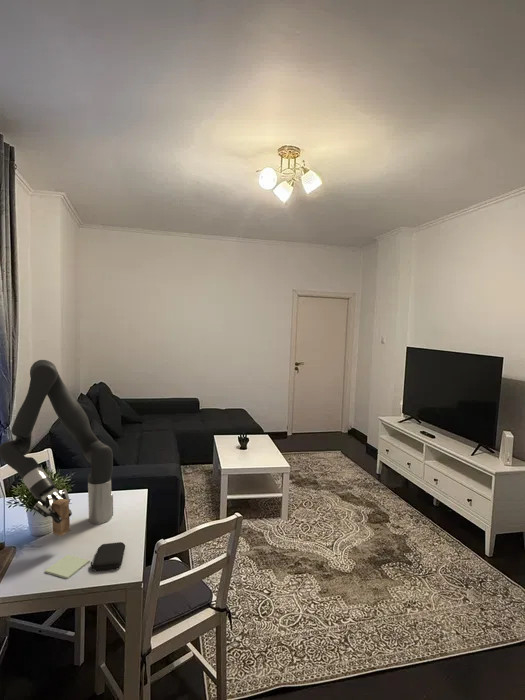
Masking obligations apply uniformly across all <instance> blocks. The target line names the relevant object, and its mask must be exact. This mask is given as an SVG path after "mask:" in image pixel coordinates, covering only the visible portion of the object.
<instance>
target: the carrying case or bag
mask: <svg viewBox="0 0 525 700" xmlns="http://www.w3.org/2000/svg"><path fill="white" fill-rule="evenodd" d="M125 550H126V545H125V543H124V542H121V541H119V542H110V543H109V542H108V543H103V544H101V545H100V546H99V547H98V548H97V551H96V554H95V556H94V559H93V561H90V568H91V569H93V571H95V572H107V571H115V570H118V569H119V568H121V566H122V564H123V559H124V555H125Z"/></svg>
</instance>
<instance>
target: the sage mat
mask: <svg viewBox="0 0 525 700" xmlns="http://www.w3.org/2000/svg"><path fill="white" fill-rule="evenodd" d="M89 563H91V561H90V559H87V558H83V557H79V556H75V555H71V554H66V555H65V556H64V557H62V558H61V559H59V560H58V561H56V562H55V563H53V564H52V565H51V566H49V567H48V568H46V569H45V570H44V573H46V574H49V575H52V576H55V577H59V578H63V579H67V580H68V579H69V578H72V577H73V576H74V575H75V574H76V573H78V572H79V571H80V570H81V569H83V567H85V566H86V565H88V564H89Z"/></svg>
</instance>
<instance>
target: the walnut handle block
mask: <svg viewBox="0 0 525 700" xmlns="http://www.w3.org/2000/svg"><path fill="white" fill-rule="evenodd" d="M52 504H53V508H54V509H55V511H56V512H57V513H58V515H59V516H60V517H61V519H62V521H61V522H60V523H59V524H58V523H56V522H55V521H54V520H53V518H52V517H51V518H52V534H53V535H56V536H60V537H62V536H64V535H65V534H67V533H68V532H70V531H71V523H70V522H71V519H70V517H69V509H70V505H69V504H70V502H69V500H66V499H61V498H60V499H58V500H56V501H54V502H53V503H52ZM56 512H55V513H56Z"/></svg>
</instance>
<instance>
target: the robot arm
mask: <svg viewBox="0 0 525 700" xmlns="http://www.w3.org/2000/svg"><path fill="white" fill-rule="evenodd" d="M29 377H30V381H29V386H28V390H27V394H26V396H25V399H24V401H23V402H22V403H21V406H20V407H19V410H18V412H17V414H16V416H15V418H14V422H13V424H12V427H11V430H10V432H11V434H12V435H13V436H14V437H15V439H14V440H10V441H9V440H8V441H5V442H3V443H1V444H0V459H1V460H2V462H4V463H5V465H7V466H9V467H10V468H11V469H13V470H14V471H16V473H17V475H18V476H19V477H20V478H21V480H22V481H23V483H24V486H25V487H26V488H27V489H28V490H29V492H30V493H31V495H32V496H33V498H34V499H36V500H37V502H36V504H35V505H34V506H33V507H32V509H33V510H34V511H36V512H37V513H38V514H40V515H41V516H43V518H47V517H50V518H53V520H54V521H55V522H56V523H58V524H59V523H60V522H61V521H62V519H61V517H60V516H59V515H58V513H57V512H56V511H55V509H54V508H53V504H52V503H53V502H54V501H56V500H58V499H60V498H61V499H66V500H69V503H71V500H70V499H71V498H70V496H69V493H68V491H67V489H66V488H63V489H62V490H59V489H57V488H56V485H55V483H54V482H53V480H52V479H51V478H50V476H49V475H48V473H46V471H45V470H44V469H43V468H42V467H41V466H40V464H39V463H38V462H37V460H36V459H35V458H34V457H32V456H31V457H29V456H28V457H27V456H26V455H27V454H28V453H29V451H30V449H31V447H32V446H31V444H32V435H33V434H32V433H33V430H34V428H35V426H36V423H37V420H38V418H39V416H40V415H39V414H40V412H41V411H40V410H41V408H42V406H43V404H44V401H45V400H46V398H48V399H49V402H50V404H51V406H52V408H53V411H54V412H55V415H56V416H57V417H58V419H59V421H60V422H61V424H62V425H63V426H64V428H65V429H66V430H67V432H68V433H69V434H70V436H72V438H73V439H74V440H75V441H76V443H77V445H78V446H79V448H80V450H81V452H82V454H83V455H84V458H85V459H86V461H87V462H89V464H90V467H91V468H90V473H88V476H87V491H88V492H87V493H88V494H87V495H88V496H87V497H88V499H87V500H88V522H89V523H90V524H94V525H98V524H103V523H106V522H108V521H110V520H111V519H112V517H113V515H114V494H113V493H112V475H113V472H114V454H113V450H112V448H111V447H110V446H109V445H107V444H105V443H103V442H102V441H101V440H100V439H99V438H98V437H97V435H96V434H95V433H94V432H93V431H94V430H92V428H91V423H90V420H89V417H88V415H87V413H86V412H85V410H84V408H83V407H82V405H81V404H80V403H79V401H78V399H76V397H75V396H74V394H73V393H72V392H71V391H70V390H69V389H68V388H67V386H66V385H65V383H64V382H63V380H62V377H61V375H60V374H59V372H58V369H57V367H56V365H55V363H53V362H52V361H50V360H47V359H38V360H36V361H34V362H33V363H32V364H31V366H30V369H29ZM55 512H56V513H55ZM72 514H73V512H72V509H70V508H69V518H70V517H71V516H72Z"/></svg>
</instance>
